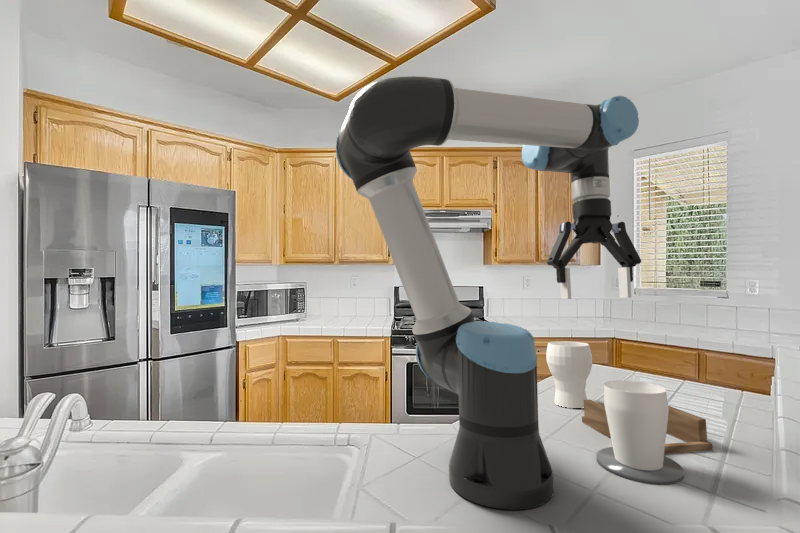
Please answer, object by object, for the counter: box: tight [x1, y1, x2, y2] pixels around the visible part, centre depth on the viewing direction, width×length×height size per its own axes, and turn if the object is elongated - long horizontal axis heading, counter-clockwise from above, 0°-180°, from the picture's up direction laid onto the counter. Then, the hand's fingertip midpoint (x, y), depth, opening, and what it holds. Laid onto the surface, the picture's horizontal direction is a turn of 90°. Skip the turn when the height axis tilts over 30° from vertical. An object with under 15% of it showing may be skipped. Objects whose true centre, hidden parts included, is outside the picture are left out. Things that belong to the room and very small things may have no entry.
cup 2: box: [603, 380, 669, 471], centre depth 62 cm, size 9×9×12 cm
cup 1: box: [545, 340, 593, 409], centre depth 96 cm, size 11×11×15 cm
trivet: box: [596, 446, 685, 485], centre depth 62 cm, size 12×12×1 cm
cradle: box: [581, 399, 714, 455], centre depth 75 cm, size 14×17×5 cm
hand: (595, 298), depth 82 cm, fingers open, 13 cm apart
